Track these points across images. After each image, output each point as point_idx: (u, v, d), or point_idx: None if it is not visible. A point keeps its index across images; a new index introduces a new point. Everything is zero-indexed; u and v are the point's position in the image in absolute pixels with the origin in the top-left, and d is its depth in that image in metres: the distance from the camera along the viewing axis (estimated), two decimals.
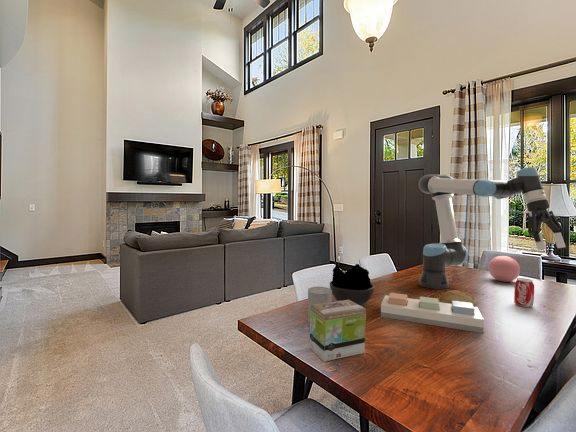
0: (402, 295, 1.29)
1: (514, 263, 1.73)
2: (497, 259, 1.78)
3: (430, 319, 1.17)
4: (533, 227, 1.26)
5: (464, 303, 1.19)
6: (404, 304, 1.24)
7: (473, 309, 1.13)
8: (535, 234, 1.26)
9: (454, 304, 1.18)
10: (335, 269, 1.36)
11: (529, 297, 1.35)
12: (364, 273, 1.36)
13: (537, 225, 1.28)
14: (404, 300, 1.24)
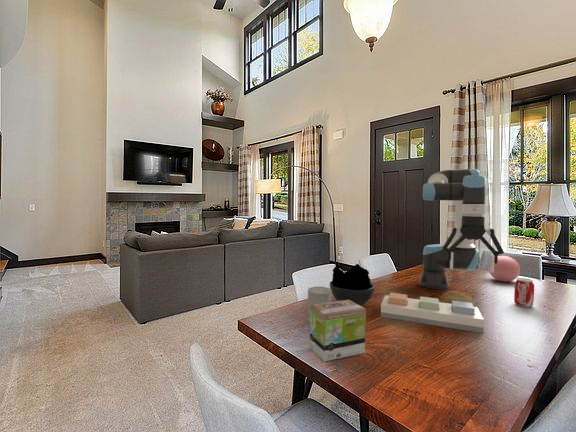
0: (402, 295, 1.29)
1: (514, 263, 1.73)
2: None
3: (430, 319, 1.17)
4: (445, 245, 1.19)
5: (464, 303, 1.19)
6: (404, 304, 1.24)
7: (473, 309, 1.13)
8: (447, 252, 1.19)
9: (454, 304, 1.18)
10: (335, 269, 1.36)
11: (529, 297, 1.35)
12: (364, 273, 1.36)
13: (454, 243, 1.18)
14: (404, 300, 1.24)
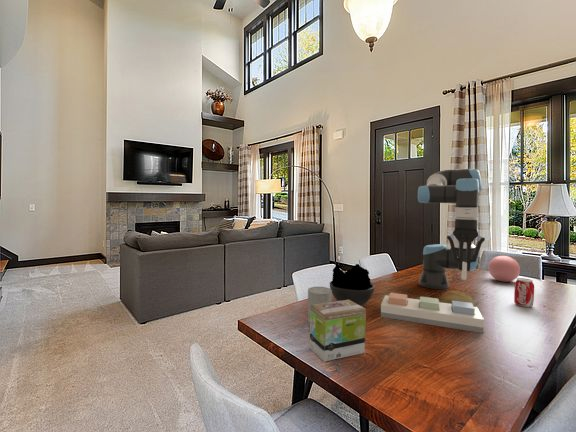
0: (402, 295, 1.29)
1: (514, 263, 1.73)
2: (497, 259, 1.78)
3: (430, 319, 1.17)
4: (453, 255, 1.18)
5: (464, 303, 1.19)
6: (404, 304, 1.24)
7: (473, 309, 1.13)
8: (458, 262, 1.17)
9: (454, 304, 1.18)
10: (335, 269, 1.36)
11: (529, 297, 1.35)
12: (364, 273, 1.36)
13: (459, 252, 1.17)
14: (404, 300, 1.24)
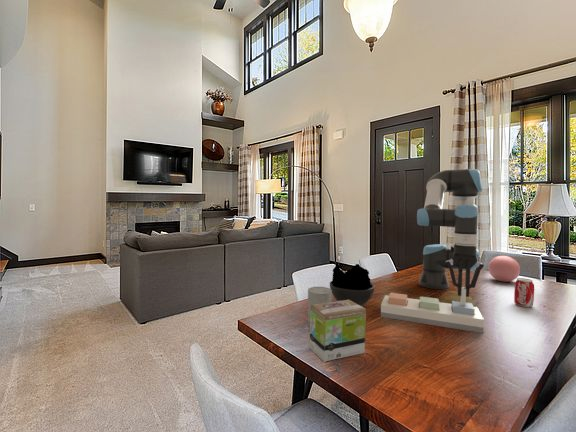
0: (402, 295, 1.29)
1: (514, 263, 1.73)
2: (497, 259, 1.78)
3: (430, 319, 1.17)
4: (452, 280, 1.18)
5: None
6: (404, 304, 1.24)
7: (473, 309, 1.13)
8: None
9: (454, 304, 1.18)
10: (335, 269, 1.36)
11: (529, 297, 1.35)
12: (364, 273, 1.36)
13: (458, 277, 1.17)
14: (404, 300, 1.24)
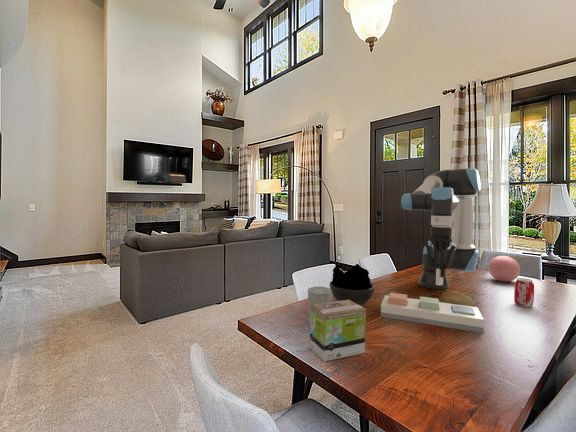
0: (402, 295, 1.29)
1: (514, 263, 1.73)
2: (497, 259, 1.78)
3: (430, 319, 1.17)
4: None
5: (464, 308, 1.19)
6: (404, 304, 1.24)
7: (473, 314, 1.14)
8: None
9: (454, 309, 1.18)
10: (335, 269, 1.36)
11: (529, 297, 1.35)
12: (364, 273, 1.36)
13: None
14: (404, 300, 1.24)
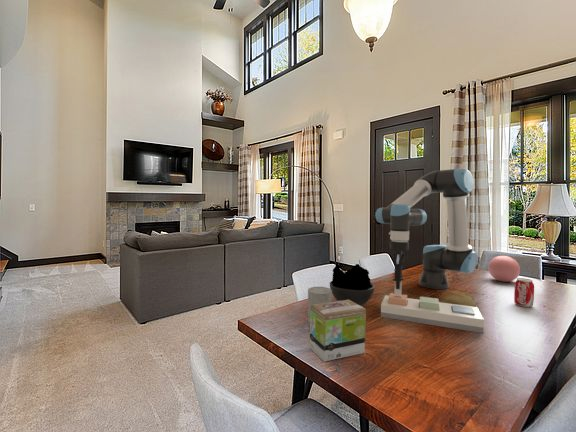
0: (402, 295, 1.29)
1: (514, 263, 1.73)
2: (497, 259, 1.78)
3: (430, 319, 1.17)
4: None
5: (464, 308, 1.19)
6: (404, 304, 1.24)
7: (473, 314, 1.14)
8: None
9: (454, 309, 1.18)
10: (335, 269, 1.36)
11: (529, 297, 1.35)
12: (364, 273, 1.36)
13: None
14: (404, 300, 1.24)
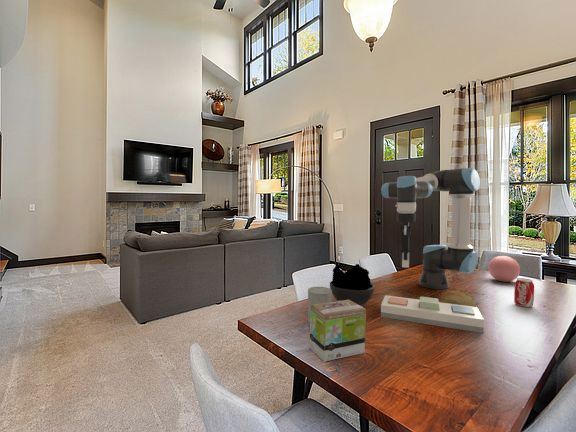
0: (402, 299, 1.29)
1: (514, 263, 1.73)
2: (497, 259, 1.78)
3: (430, 319, 1.17)
4: None
5: (464, 308, 1.19)
6: None
7: (473, 314, 1.14)
8: None
9: (454, 309, 1.18)
10: (335, 269, 1.36)
11: (529, 297, 1.35)
12: (364, 273, 1.36)
13: None
14: (404, 305, 1.24)
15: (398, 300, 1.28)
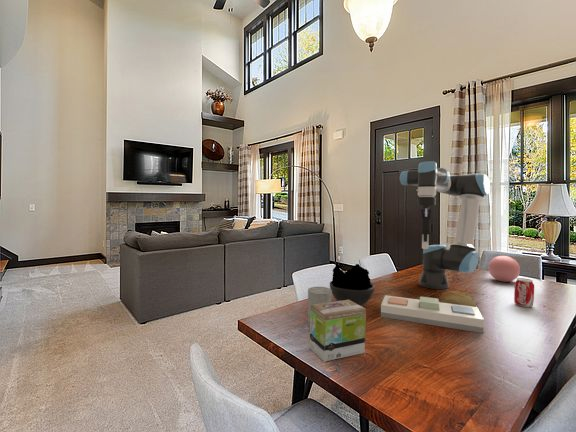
0: (402, 299, 1.29)
1: (514, 263, 1.73)
2: (497, 259, 1.78)
3: (430, 319, 1.17)
4: None
5: (464, 308, 1.19)
6: None
7: (473, 314, 1.14)
8: None
9: (454, 309, 1.18)
10: (335, 269, 1.36)
11: (529, 297, 1.35)
12: (364, 273, 1.36)
13: None
14: (404, 305, 1.24)
15: (398, 300, 1.28)
